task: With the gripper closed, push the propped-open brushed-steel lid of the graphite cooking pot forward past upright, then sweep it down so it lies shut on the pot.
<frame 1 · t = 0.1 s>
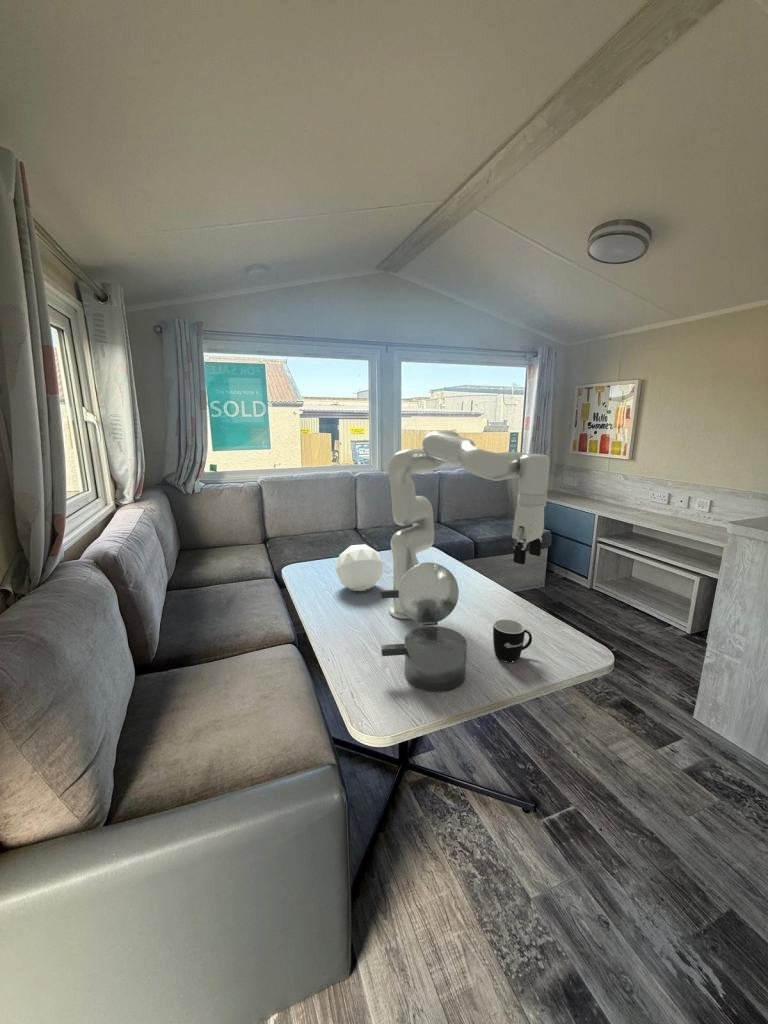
hand: (527, 559, 119), 31 cm above the table, tool pointing down, fingers open, 9 cm apart
mug: (511, 657, 127), on the table
geometric polyhedron: (359, 589, 178), on the table
pot: (434, 673, 119), on the table
lid: (419, 594, 125), point 19 cm above the table, hinge at 100.0°
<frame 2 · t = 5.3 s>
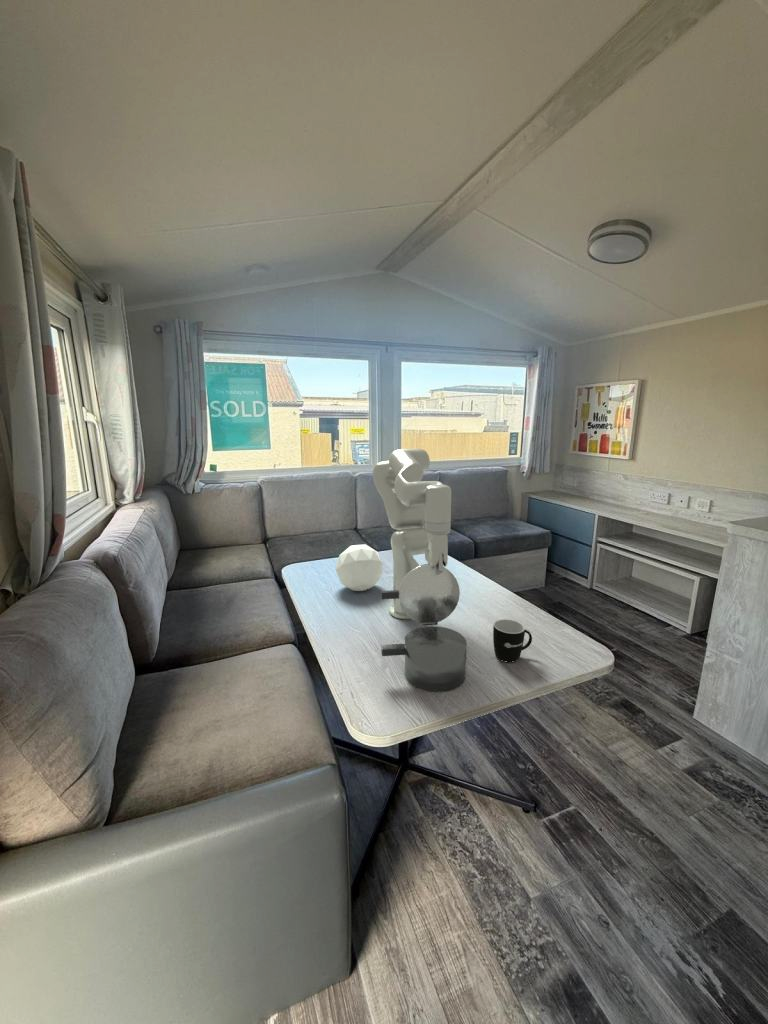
hand: (436, 585, 128), 21 cm above the table, tool pointing down, fingers closed
lid: (420, 594, 124), point 19 cm above the table, hinge at 93.1°, touching gripper
everything else where it was.
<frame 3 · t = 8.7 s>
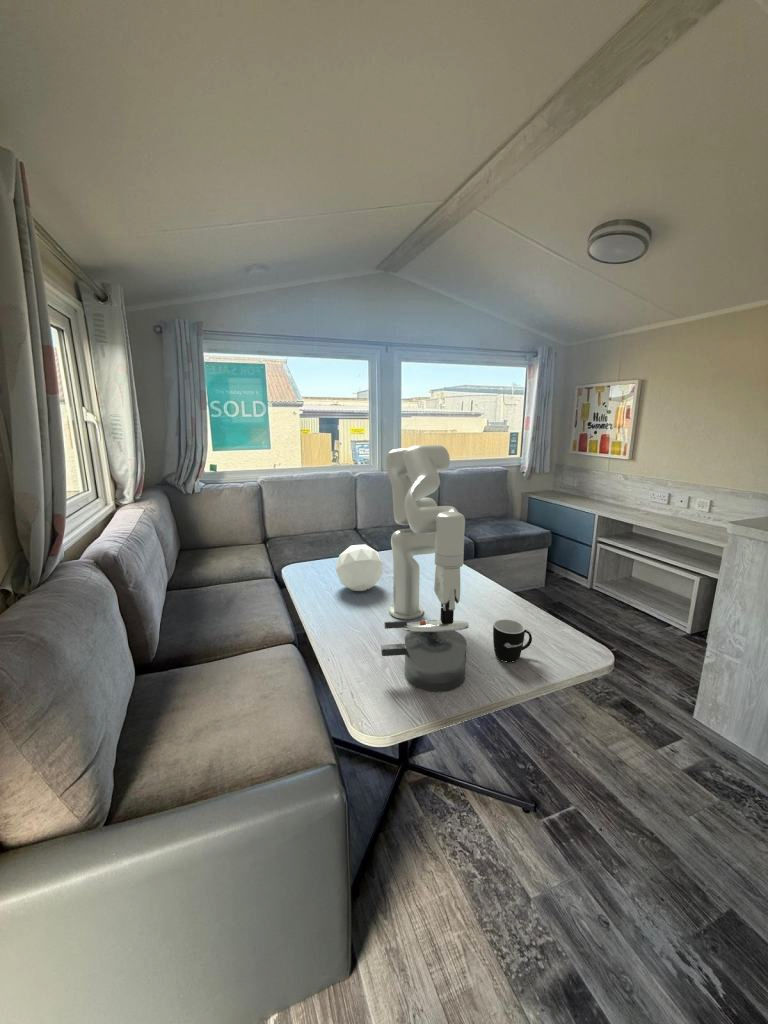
hand: (446, 622, 116), 15 cm above the table, tool pointing down, fingers closed
lid: (426, 624, 117), point 15 cm above the table, hinge at 22.3°, touching gripper
everything else where it was.
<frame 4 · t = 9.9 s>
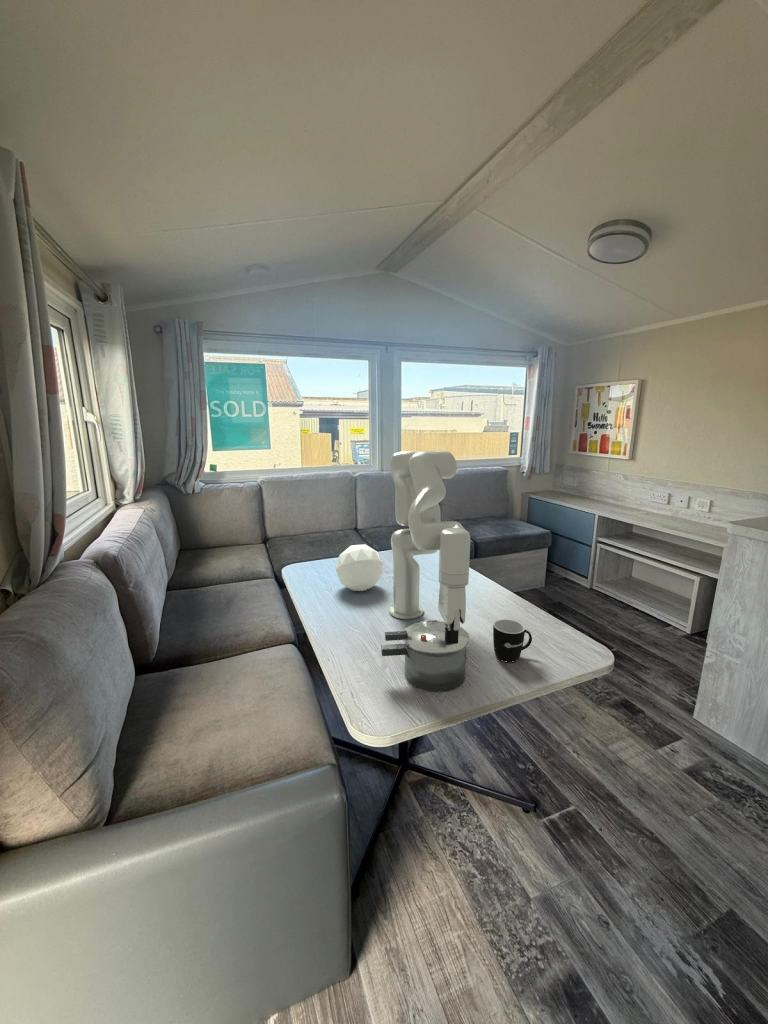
hand: (451, 642, 112), 12 cm above the table, tool pointing down, fingers closed
lid: (426, 634, 116), point 12 cm above the table, hinge at 3.4°, touching gripper
everything else where it was.
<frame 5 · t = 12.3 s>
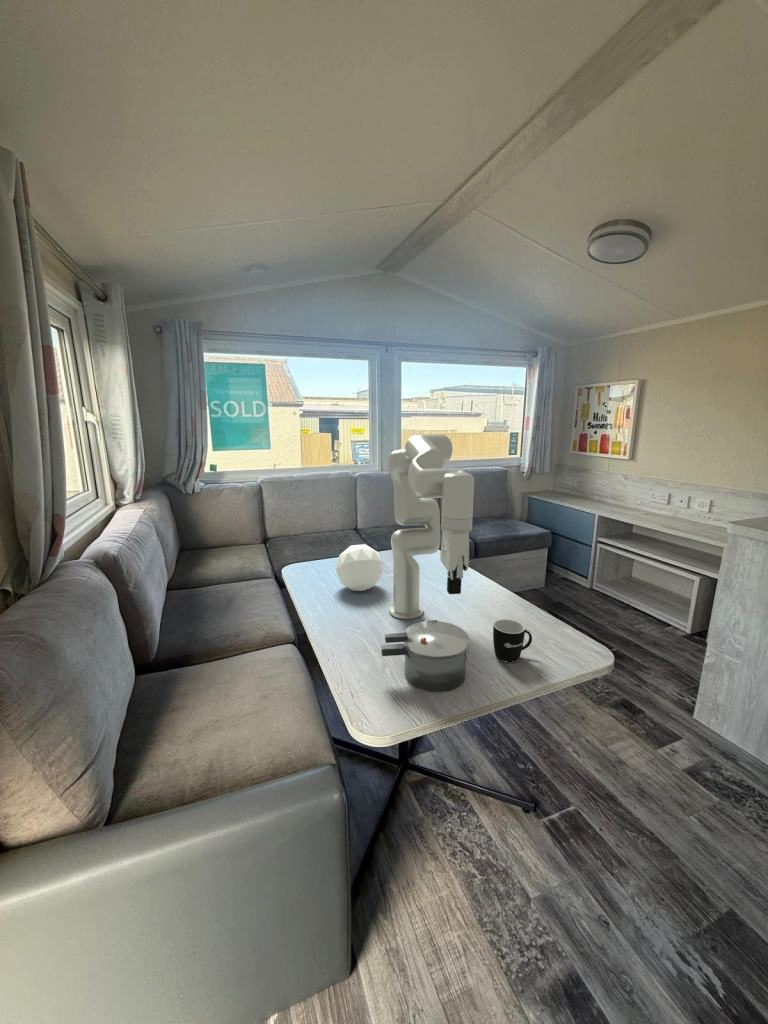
hand: (453, 592, 108), 27 cm above the table, tool pointing down, fingers closed
lid: (426, 636, 117), point 11 cm above the table, hinge at 0.0°
everything else where it was.
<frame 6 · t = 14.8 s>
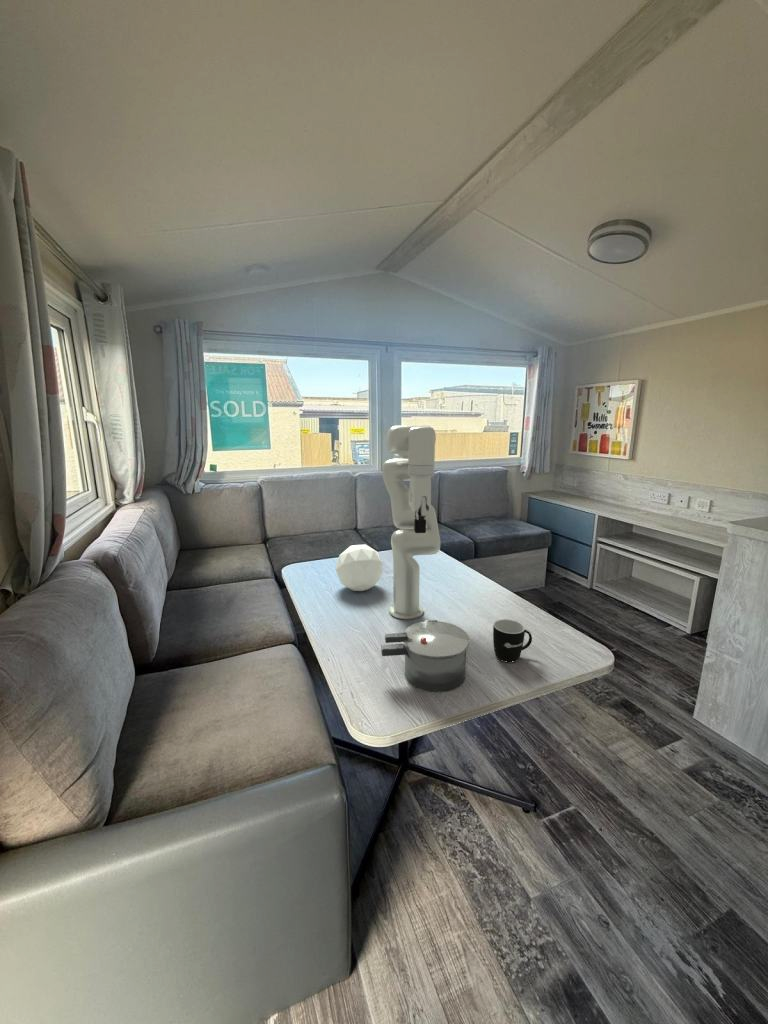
hand: (420, 532, 125), 37 cm above the table, tool pointing down, fingers closed
nothing on the table moved.
at the end: lid at +0° (first picture: +100°); mug moved 0.2 cm from its start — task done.
